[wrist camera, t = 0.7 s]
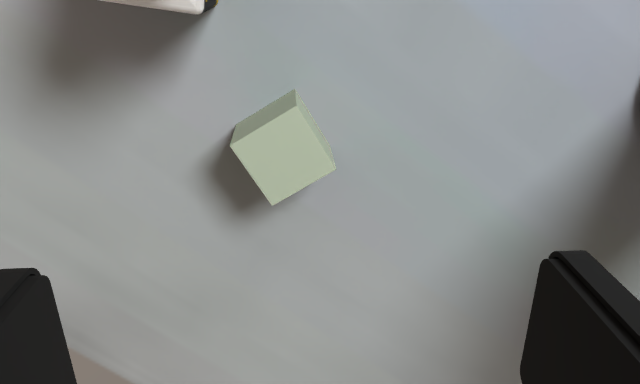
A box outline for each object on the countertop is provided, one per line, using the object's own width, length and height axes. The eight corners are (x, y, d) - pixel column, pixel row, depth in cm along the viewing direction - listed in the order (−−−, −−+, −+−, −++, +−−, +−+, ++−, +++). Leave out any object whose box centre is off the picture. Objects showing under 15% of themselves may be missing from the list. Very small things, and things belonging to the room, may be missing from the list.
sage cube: (294, 88, 36) (296, 105, 31) (330, 145, 38) (336, 169, 33) (236, 124, 37) (229, 145, 32) (273, 178, 39) (272, 205, 34)
